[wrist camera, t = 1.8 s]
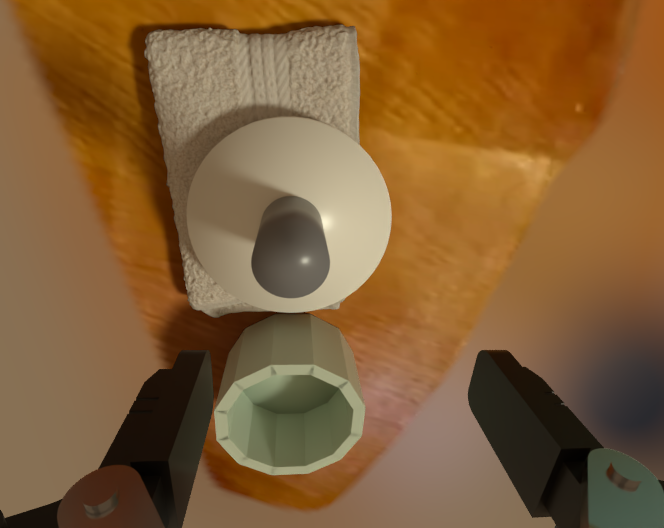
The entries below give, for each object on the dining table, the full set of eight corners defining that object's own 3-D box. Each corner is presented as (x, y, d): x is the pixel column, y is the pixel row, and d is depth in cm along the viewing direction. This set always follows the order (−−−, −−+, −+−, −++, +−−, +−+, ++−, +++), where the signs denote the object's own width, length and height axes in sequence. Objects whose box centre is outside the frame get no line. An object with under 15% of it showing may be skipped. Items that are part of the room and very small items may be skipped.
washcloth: (199, 305, 29) (188, 328, 26) (145, 30, 21) (122, 20, 18) (353, 295, 29) (359, 316, 27) (354, 28, 22) (362, 18, 19)
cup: (226, 313, 28) (210, 365, 23) (356, 314, 29) (371, 364, 24) (232, 412, 32) (219, 477, 27) (346, 410, 33) (357, 471, 28)
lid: (182, 108, 20) (134, 114, 14) (399, 123, 22) (441, 134, 15) (199, 302, 25) (168, 369, 19) (375, 304, 26) (399, 367, 20)
